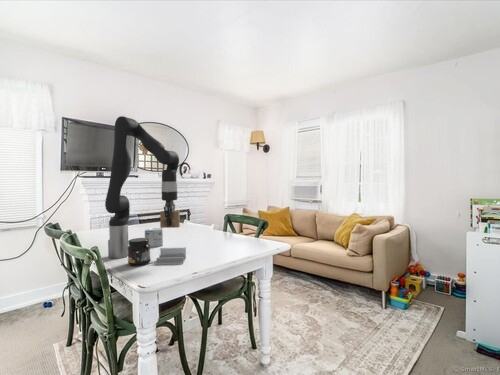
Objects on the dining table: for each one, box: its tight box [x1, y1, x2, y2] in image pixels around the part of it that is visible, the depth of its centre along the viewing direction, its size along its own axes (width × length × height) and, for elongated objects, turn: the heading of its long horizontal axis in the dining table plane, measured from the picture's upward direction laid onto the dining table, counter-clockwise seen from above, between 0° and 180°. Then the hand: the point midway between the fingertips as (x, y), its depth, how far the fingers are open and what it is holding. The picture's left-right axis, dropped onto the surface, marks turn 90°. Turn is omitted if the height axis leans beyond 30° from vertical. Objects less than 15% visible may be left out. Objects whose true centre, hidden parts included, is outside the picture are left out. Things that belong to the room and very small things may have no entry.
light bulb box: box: [144, 227, 164, 248], centre depth 173 cm, size 11×7×11 cm, turn 108°
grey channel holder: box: [155, 246, 187, 266], centre depth 139 cm, size 13×9×6 cm
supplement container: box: [127, 237, 151, 267], centre depth 137 cm, size 10×10×12 cm
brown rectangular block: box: [159, 210, 181, 229], centre depth 138 cm, size 9×3×8 cm, turn 92°
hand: (170, 224), depth 138 cm, fingers closed on brown rectangular block, 2 cm apart
